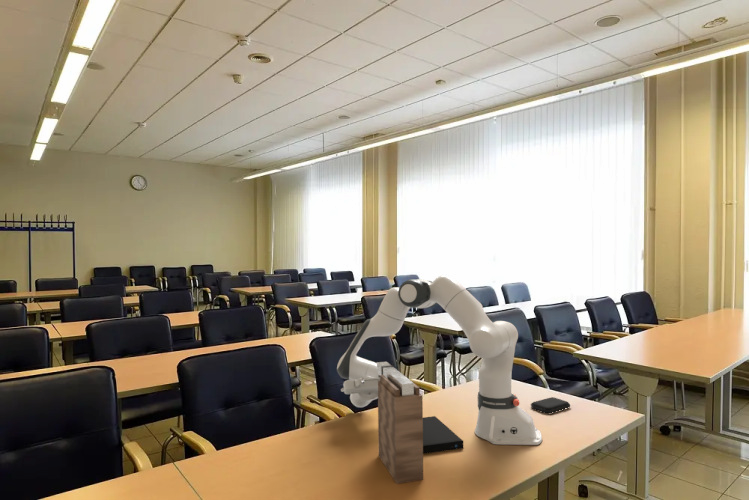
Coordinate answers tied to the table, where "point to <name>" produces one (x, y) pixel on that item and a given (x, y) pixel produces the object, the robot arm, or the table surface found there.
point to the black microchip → (550, 405)
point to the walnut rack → (400, 432)
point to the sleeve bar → (396, 378)
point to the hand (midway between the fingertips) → (375, 379)
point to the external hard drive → (438, 436)
